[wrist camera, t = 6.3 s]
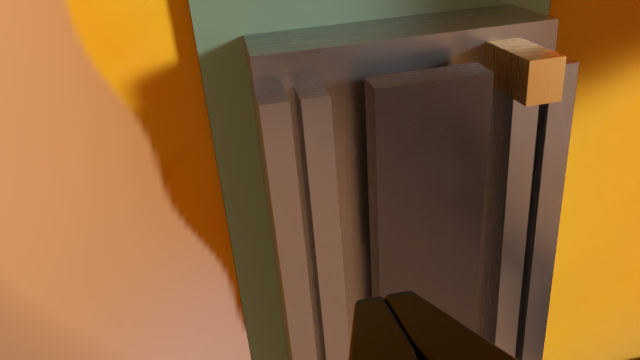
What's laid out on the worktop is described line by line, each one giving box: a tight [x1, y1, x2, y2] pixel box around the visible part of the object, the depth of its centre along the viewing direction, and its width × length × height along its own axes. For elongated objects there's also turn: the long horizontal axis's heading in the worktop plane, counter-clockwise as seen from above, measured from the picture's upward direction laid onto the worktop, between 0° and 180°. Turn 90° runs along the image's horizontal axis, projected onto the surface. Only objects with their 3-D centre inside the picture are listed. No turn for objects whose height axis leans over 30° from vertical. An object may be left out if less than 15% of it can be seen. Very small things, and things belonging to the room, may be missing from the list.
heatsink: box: [243, 4, 579, 360], centre depth 20 cm, size 16×9×5 cm, turn 5°
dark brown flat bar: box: [365, 62, 494, 330], centre depth 18 cm, size 14×4×1 cm, turn 5°
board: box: [188, 0, 550, 360], centre depth 22 cm, size 19×12×1 cm, turn 5°
